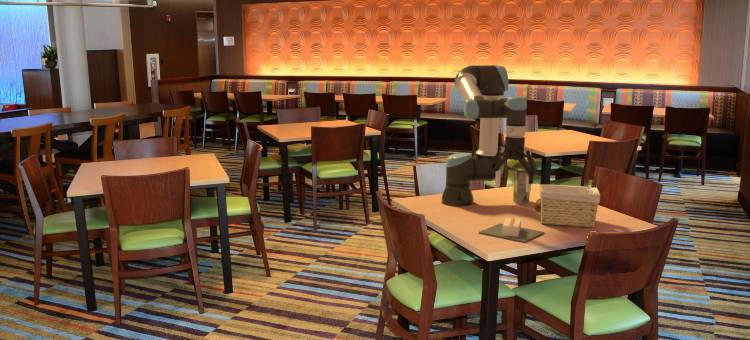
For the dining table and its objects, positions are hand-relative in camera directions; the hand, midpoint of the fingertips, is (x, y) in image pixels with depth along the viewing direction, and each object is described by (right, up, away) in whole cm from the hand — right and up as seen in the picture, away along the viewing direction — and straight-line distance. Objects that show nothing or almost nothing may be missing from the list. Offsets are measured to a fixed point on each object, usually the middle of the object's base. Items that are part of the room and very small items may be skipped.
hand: (512, 189), depth 260 cm
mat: (0, -18, 0) cm, 18 cm away
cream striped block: (0, -17, -1) cm, 17 cm away
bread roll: (+22, -11, +37) cm, 45 cm away
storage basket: (+27, -15, +17) cm, 35 cm away
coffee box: (+15, -8, +52) cm, 55 cm away
